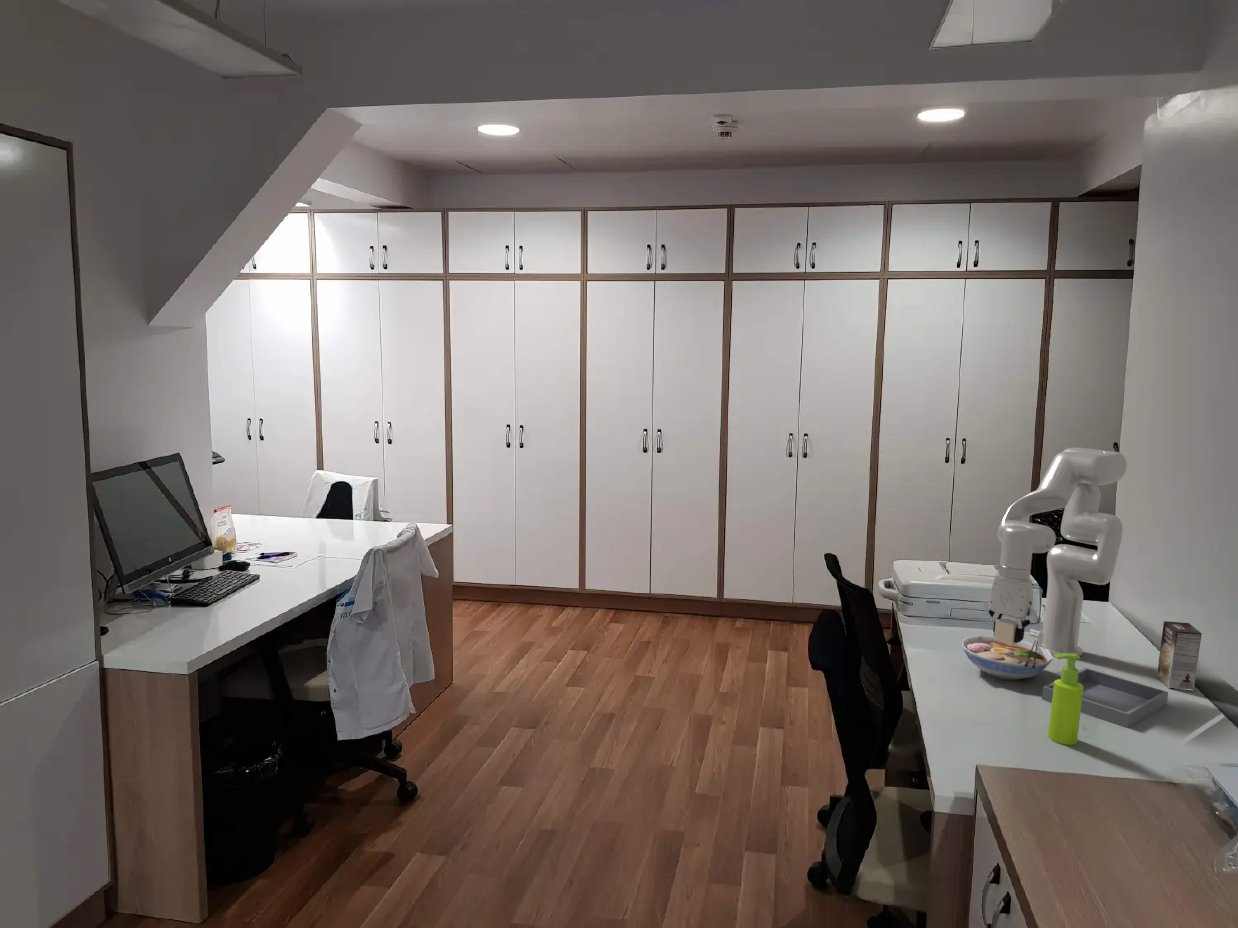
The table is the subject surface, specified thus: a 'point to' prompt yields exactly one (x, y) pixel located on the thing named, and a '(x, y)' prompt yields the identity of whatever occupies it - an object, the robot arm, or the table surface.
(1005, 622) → the tan wooden cube
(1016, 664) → the ramen bowl
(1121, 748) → the table surface
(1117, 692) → the parts tray
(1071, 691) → the soap dispenser
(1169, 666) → the coffee box
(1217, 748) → the table surface
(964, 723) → the table surface
